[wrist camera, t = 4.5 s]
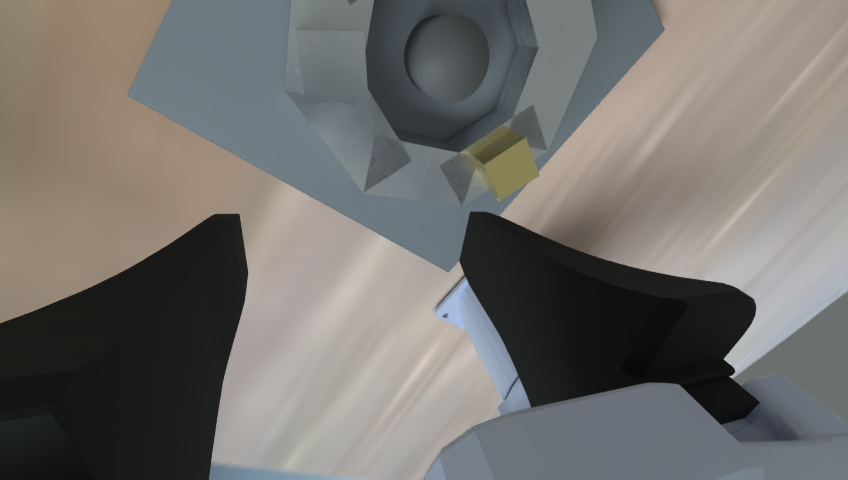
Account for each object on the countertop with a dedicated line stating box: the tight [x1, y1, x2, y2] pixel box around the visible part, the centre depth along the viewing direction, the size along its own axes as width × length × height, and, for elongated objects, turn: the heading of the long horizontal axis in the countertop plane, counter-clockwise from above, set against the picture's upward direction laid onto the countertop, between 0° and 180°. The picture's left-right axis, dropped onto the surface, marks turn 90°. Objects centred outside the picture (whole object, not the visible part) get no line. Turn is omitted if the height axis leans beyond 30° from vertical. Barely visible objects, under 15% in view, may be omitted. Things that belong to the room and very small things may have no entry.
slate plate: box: [127, 0, 665, 272], centre depth 17 cm, size 20×20×3 cm
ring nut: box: [284, 0, 597, 207], centre depth 16 cm, size 14×14×4 cm
